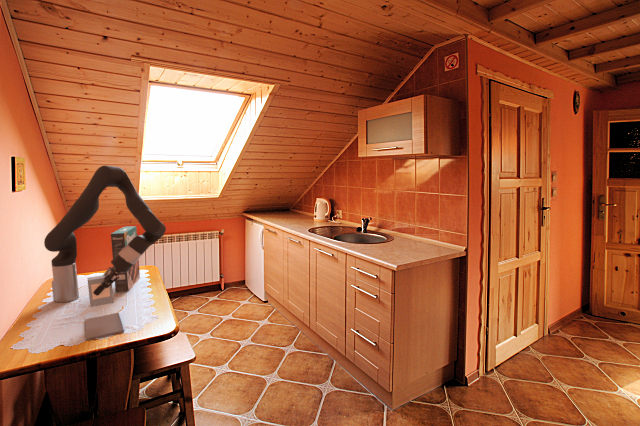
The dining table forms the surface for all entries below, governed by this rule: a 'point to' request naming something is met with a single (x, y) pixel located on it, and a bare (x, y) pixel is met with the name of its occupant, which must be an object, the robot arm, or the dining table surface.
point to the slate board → (103, 326)
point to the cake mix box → (118, 243)
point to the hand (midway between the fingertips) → (95, 292)
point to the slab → (104, 296)
